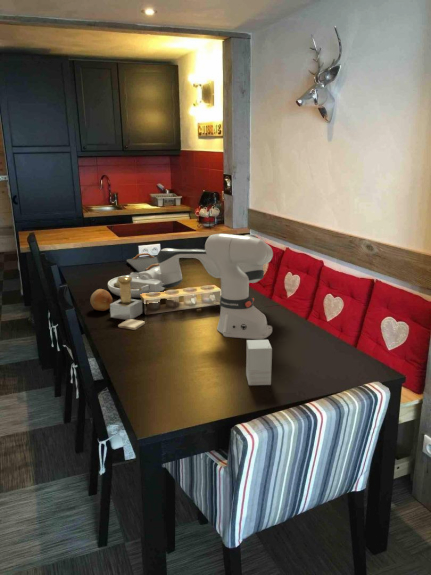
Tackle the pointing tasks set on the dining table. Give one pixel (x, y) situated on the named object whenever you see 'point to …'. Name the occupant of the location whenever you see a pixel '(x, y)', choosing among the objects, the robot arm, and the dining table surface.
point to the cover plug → (125, 289)
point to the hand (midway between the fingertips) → (131, 288)
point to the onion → (101, 300)
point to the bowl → (131, 288)
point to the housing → (126, 309)
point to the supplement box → (258, 362)
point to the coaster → (131, 324)
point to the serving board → (143, 262)
